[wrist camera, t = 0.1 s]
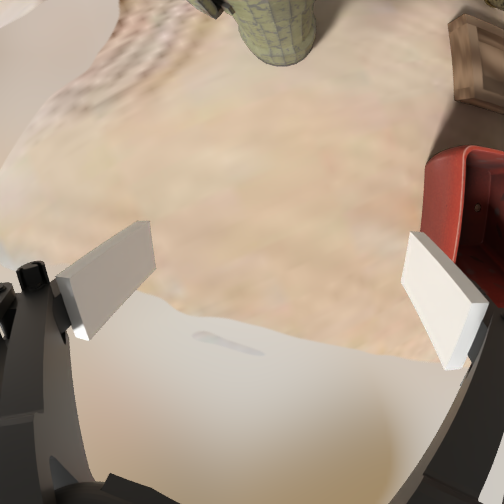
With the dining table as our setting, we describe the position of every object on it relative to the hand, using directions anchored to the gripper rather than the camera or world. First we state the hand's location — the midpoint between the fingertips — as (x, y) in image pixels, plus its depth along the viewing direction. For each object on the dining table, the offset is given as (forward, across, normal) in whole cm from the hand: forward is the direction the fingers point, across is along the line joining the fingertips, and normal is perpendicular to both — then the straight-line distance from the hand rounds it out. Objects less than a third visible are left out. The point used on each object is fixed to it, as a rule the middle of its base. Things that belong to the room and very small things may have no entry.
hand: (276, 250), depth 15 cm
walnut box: (+28, +34, +19) cm, 48 cm away
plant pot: (+28, +26, -3) cm, 38 cm away
